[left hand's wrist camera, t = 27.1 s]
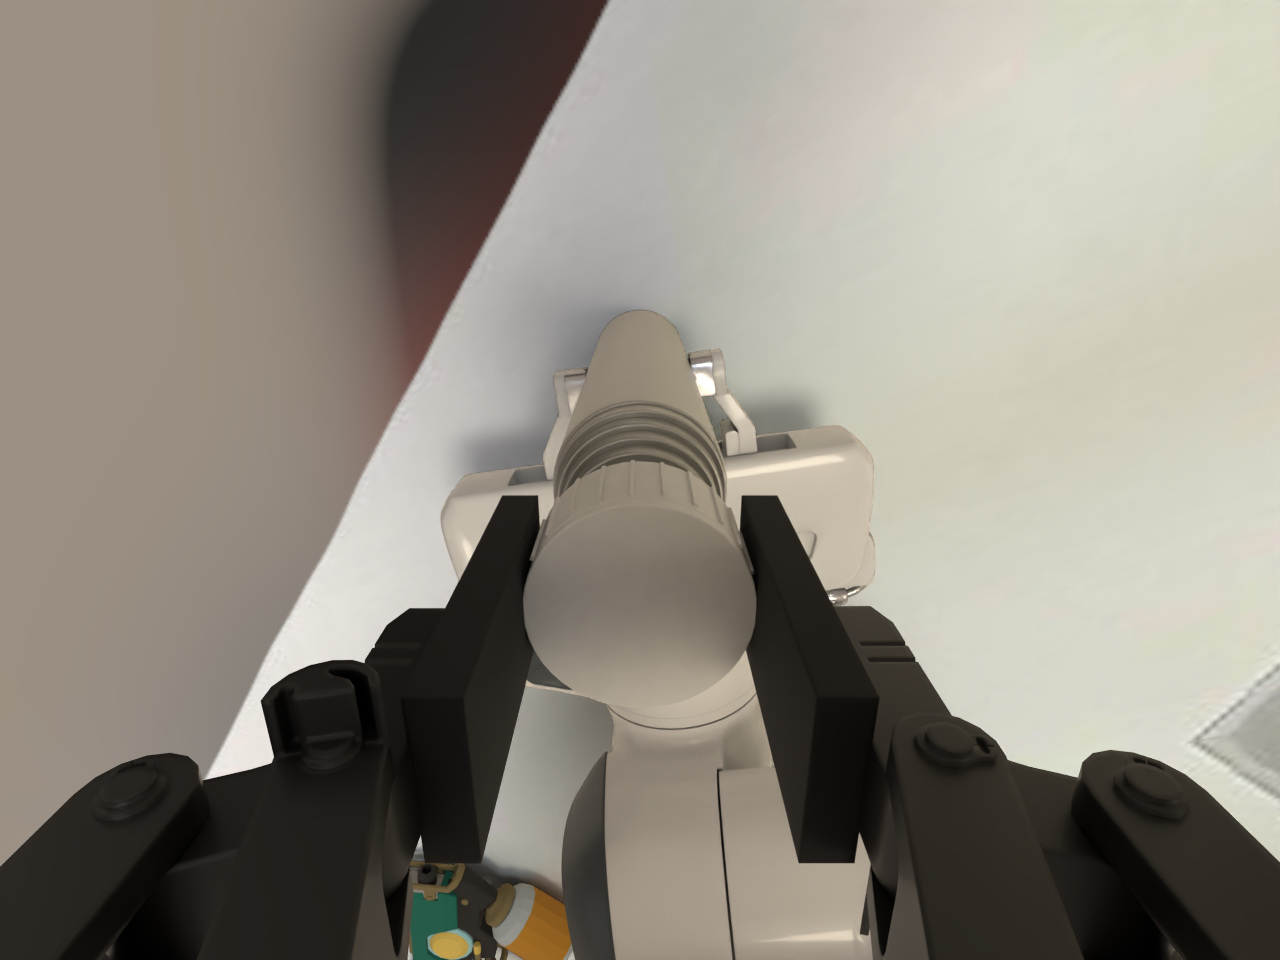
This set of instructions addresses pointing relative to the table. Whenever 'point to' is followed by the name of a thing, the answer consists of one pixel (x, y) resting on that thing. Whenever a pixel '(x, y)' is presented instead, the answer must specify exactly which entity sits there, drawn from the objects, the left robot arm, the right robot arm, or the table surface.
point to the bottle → (640, 407)
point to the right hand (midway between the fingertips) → (636, 361)
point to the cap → (639, 587)
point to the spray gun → (482, 918)
